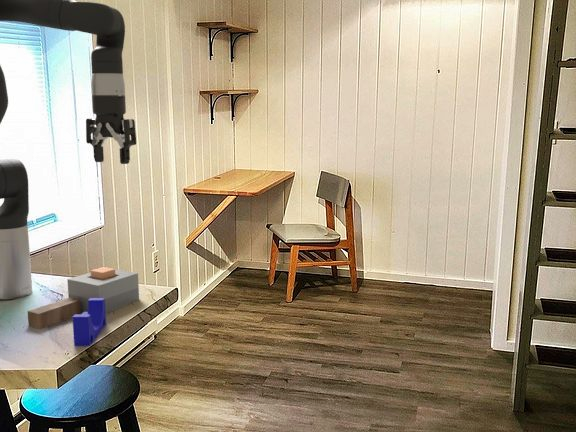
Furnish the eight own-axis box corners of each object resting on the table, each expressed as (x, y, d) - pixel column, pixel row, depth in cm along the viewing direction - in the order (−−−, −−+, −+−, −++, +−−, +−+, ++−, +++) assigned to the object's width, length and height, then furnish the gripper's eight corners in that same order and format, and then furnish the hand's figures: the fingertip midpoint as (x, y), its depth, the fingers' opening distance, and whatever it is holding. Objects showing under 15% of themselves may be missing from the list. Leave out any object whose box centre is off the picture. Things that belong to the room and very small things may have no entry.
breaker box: (69, 308, 146) (67, 279, 144) (109, 295, 156) (107, 267, 155) (100, 316, 141) (98, 285, 139) (139, 302, 151) (137, 273, 149)
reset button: (91, 284, 147) (90, 270, 146) (104, 280, 150) (103, 266, 149) (103, 286, 145) (102, 272, 144) (115, 282, 148) (115, 269, 147)
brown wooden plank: (27, 311, 134) (69, 297, 143) (28, 327, 135) (70, 312, 144) (38, 313, 132) (80, 300, 142) (39, 330, 133) (81, 315, 142)
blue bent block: (84, 325, 135) (83, 298, 134) (106, 325, 135) (104, 298, 134) (66, 346, 124) (64, 317, 122) (89, 346, 124) (88, 316, 123)
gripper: (75, 93, 150) (79, 162, 153) (118, 93, 143) (121, 165, 146) (99, 94, 157) (103, 160, 160) (142, 93, 149) (145, 163, 152)
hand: (111, 162), depth 153 cm, fingers open, 8 cm apart
